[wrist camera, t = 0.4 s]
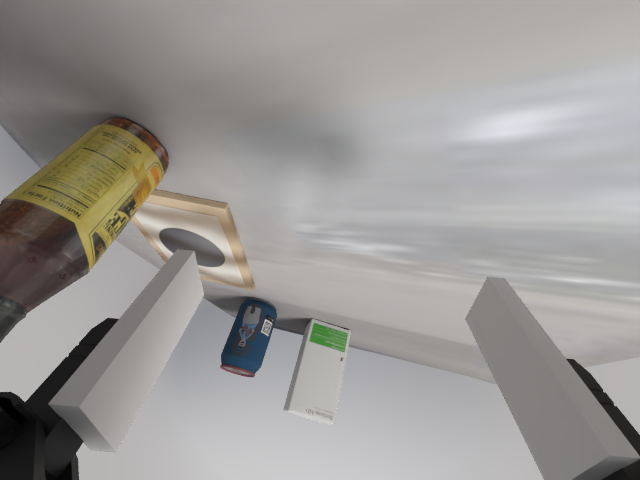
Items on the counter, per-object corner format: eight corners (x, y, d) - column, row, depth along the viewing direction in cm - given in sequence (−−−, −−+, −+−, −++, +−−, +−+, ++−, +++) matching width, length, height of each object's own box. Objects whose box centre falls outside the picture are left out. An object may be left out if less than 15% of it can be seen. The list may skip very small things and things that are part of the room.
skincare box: (351, 329, 53) (337, 425, 44) (341, 338, 59) (327, 424, 50) (310, 317, 53) (287, 411, 44) (303, 327, 58) (282, 412, 49)
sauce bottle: (155, 180, 29) (-16, 387, 18) (92, 131, 25) (-174, 355, 14) (188, 157, 25) (-1, 401, 14) (120, 96, 22) (-210, 362, 10)
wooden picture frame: (108, 180, 31) (102, 186, 30) (227, 203, 30) (223, 210, 29) (176, 268, 47) (173, 273, 47) (255, 286, 46) (252, 291, 45)
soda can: (259, 312, 57) (237, 376, 50) (236, 297, 52) (207, 364, 45) (286, 312, 53) (265, 380, 46) (263, 295, 49) (237, 367, 42)
